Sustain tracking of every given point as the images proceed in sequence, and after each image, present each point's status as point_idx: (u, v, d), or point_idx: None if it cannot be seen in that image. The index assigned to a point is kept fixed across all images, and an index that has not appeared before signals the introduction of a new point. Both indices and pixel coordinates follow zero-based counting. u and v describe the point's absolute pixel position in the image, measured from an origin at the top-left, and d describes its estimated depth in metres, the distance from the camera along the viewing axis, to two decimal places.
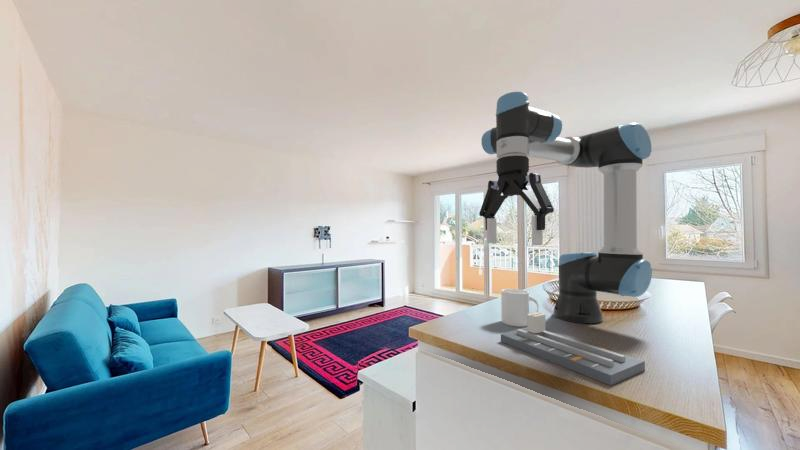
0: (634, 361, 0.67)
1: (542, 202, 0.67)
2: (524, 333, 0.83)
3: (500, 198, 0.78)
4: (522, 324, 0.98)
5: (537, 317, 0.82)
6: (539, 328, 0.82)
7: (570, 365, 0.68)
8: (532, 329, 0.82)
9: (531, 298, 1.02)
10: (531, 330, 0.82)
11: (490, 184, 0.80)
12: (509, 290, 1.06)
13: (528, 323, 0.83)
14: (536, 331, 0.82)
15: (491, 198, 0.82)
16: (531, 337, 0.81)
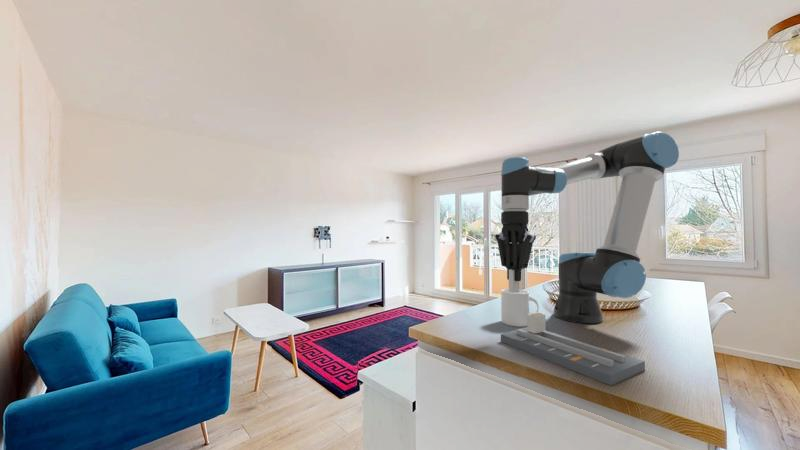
0: (634, 361, 0.67)
1: (522, 260, 0.86)
2: (524, 333, 0.83)
3: (511, 246, 0.90)
4: (522, 324, 0.98)
5: (537, 317, 0.82)
6: (539, 328, 0.82)
7: (570, 365, 0.68)
8: (532, 329, 0.82)
9: (531, 298, 1.02)
10: (531, 330, 0.82)
11: (497, 237, 0.94)
12: None
13: (528, 323, 0.83)
14: (536, 331, 0.82)
15: (504, 248, 0.93)
16: (531, 337, 0.81)
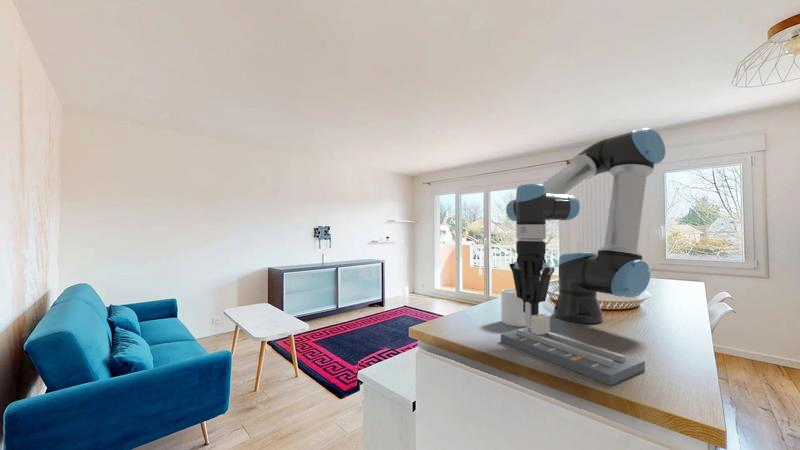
0: (634, 361, 0.67)
1: (539, 294, 0.81)
2: (524, 333, 0.83)
3: (527, 277, 0.85)
4: (522, 324, 0.98)
5: (541, 318, 0.81)
6: (543, 329, 0.81)
7: (570, 365, 0.68)
8: (536, 330, 0.81)
9: None
10: (535, 331, 0.81)
11: (512, 266, 0.89)
12: (509, 290, 1.06)
13: (532, 325, 0.82)
14: (540, 332, 0.80)
15: (520, 278, 0.88)
16: (531, 337, 0.81)
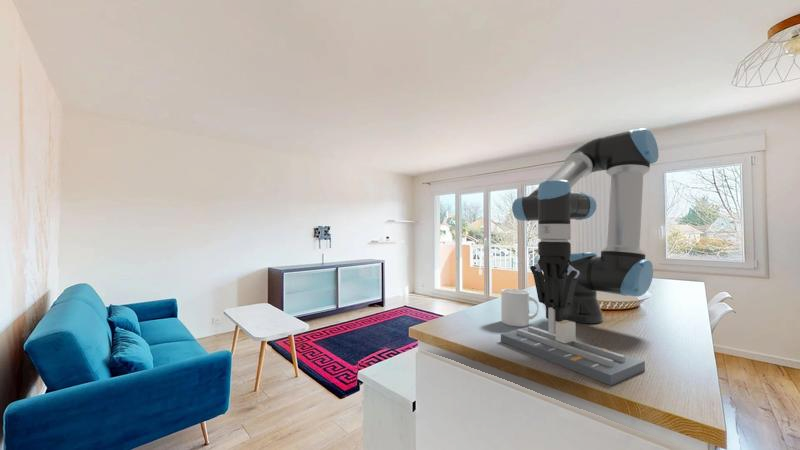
0: (634, 361, 0.67)
1: (565, 299, 0.75)
2: (524, 333, 0.83)
3: (550, 280, 0.79)
4: (522, 324, 0.98)
5: (567, 325, 0.75)
6: (569, 337, 0.75)
7: (570, 365, 0.68)
8: (562, 338, 0.75)
9: (531, 298, 1.02)
10: (560, 340, 0.75)
11: (533, 269, 0.83)
12: (509, 290, 1.06)
13: (557, 332, 0.76)
14: (566, 341, 0.74)
15: (542, 281, 0.82)
16: (531, 337, 0.81)
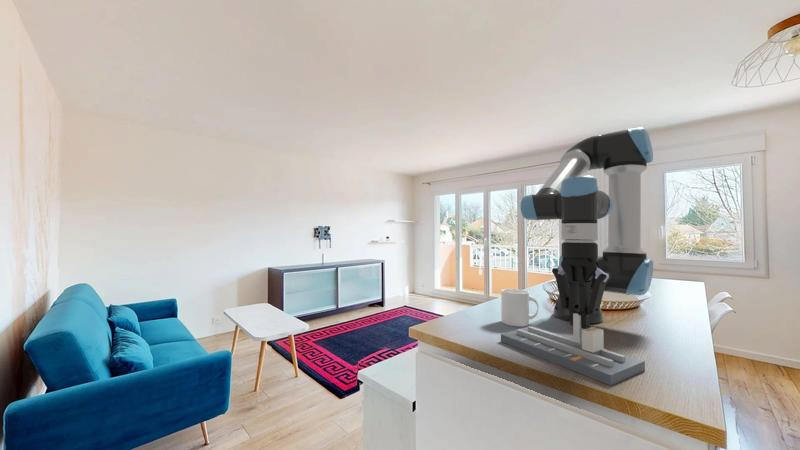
0: (634, 361, 0.67)
1: (592, 305, 0.69)
2: (524, 333, 0.83)
3: (575, 284, 0.74)
4: (522, 324, 0.98)
5: (595, 333, 0.69)
6: (597, 346, 0.69)
7: (570, 365, 0.68)
8: (589, 347, 0.69)
9: (531, 298, 1.02)
10: (588, 348, 0.69)
11: (555, 271, 0.77)
12: (509, 290, 1.06)
13: (584, 340, 0.70)
14: (594, 350, 0.69)
15: (565, 285, 0.77)
16: (531, 337, 0.81)
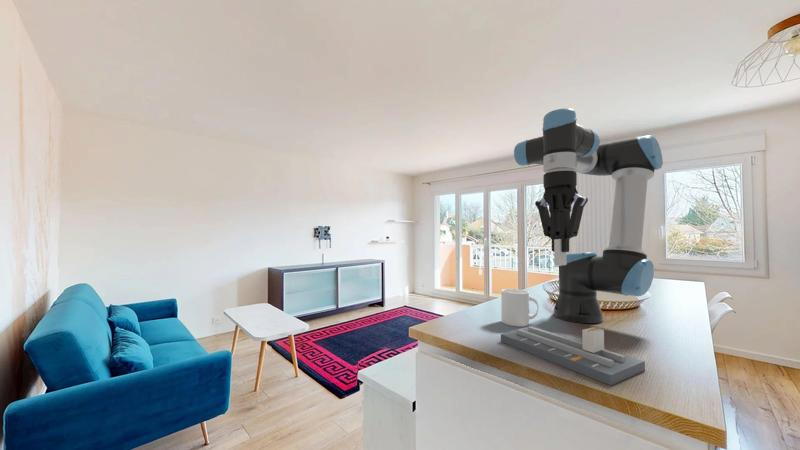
0: (634, 361, 0.67)
1: (571, 227, 0.74)
2: (524, 333, 0.83)
3: (556, 212, 0.78)
4: (522, 324, 0.98)
5: (596, 333, 0.69)
6: (598, 346, 0.69)
7: (570, 365, 0.68)
8: (590, 347, 0.69)
9: (531, 298, 1.02)
10: (588, 349, 0.69)
11: (538, 203, 0.82)
12: (509, 290, 1.06)
13: (584, 340, 0.70)
14: (595, 350, 0.69)
15: (547, 216, 0.81)
16: (531, 337, 0.81)
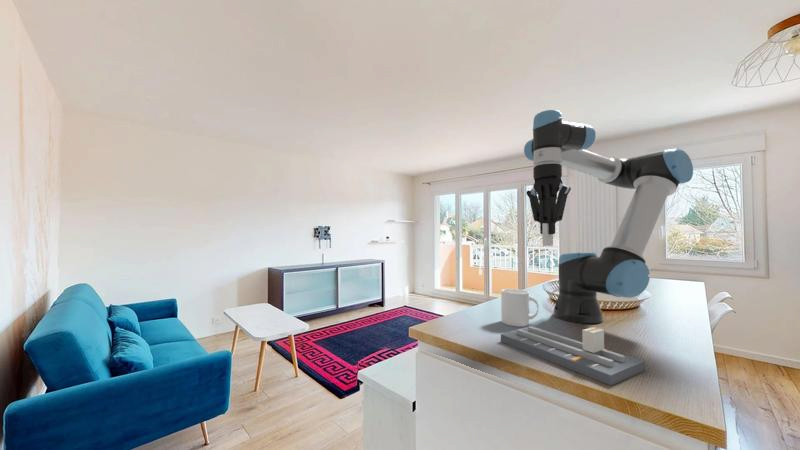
0: (634, 361, 0.67)
1: (557, 212, 0.86)
2: (524, 333, 0.83)
3: (544, 200, 0.90)
4: (522, 324, 0.98)
5: (596, 333, 0.69)
6: (598, 346, 0.69)
7: (570, 365, 0.68)
8: (590, 347, 0.69)
9: (531, 298, 1.02)
10: (588, 349, 0.69)
11: (529, 193, 0.94)
12: (509, 290, 1.06)
13: (584, 340, 0.70)
14: (595, 350, 0.69)
15: (537, 203, 0.93)
16: (531, 337, 0.81)
